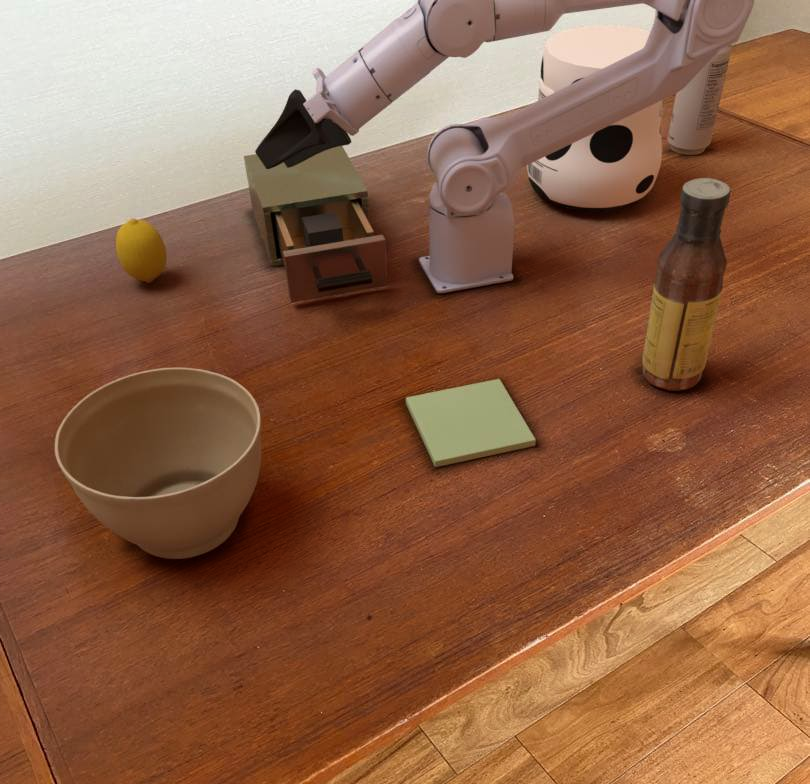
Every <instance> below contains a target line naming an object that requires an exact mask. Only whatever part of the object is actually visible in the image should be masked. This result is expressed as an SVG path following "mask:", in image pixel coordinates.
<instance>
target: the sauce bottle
mask: <svg viewBox="0 0 810 784" xmlns="http://www.w3.org/2000/svg"><path fill="white" fill-rule="evenodd" d="M730 195H731V187H730V186H729V184H727V183H726V182H723V181H722V180H718V179H716V178H711V177H700V178H694V179H691V180H689V181H687V182H685V183H684V184H683V185H682V188H681V193H680V198H679V203H680V210H679V211H680V212H679V217H678V223H677V225H676V227H675V233H674V235H673V236H672V237H671V238H670V240H669V241H668V242H667V243H666V244H665V246H664V247H663V248H662V249H661V251H660V253H659V255H658V263H657V271H656V276H655V280H654V283H653V290H652V296H651V301H650V308H649V315H648V322H647V327H646V333H645V340H644V345H643V351H642V356H641V357H642V359H641V361H642V364H641V368H642V373H643V376H644V379H645V380H646V381H647V383H648V384H649V385H652V386H654V387H656V388H658V389H662V390H665V391H669V392H679V391H686V390H690V389H691V388H694V387H695V386H697V384H698V383H699V382H700V380H701V379H702V376H703V373H704V370H705V367H706V365H707V361H708V356H709V352H710V351H709V350H710V347H711V343H712V338H713V333H714V328H715V325H716V319H717V315H718V310H719V306H720V301H721V297H722V293H723V286H724V285H723V283H724V276H725V273H726V268H727V265H728V260H727V257H726V254H725V250H724V247H723V244H722V239H721V233H722V229H721V228H722V223H723V219H724V215H725V210H726V208H727V207H728V205H729V203H730V198H731V197H730Z"/></svg>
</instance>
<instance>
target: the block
mask: <svg viewBox="0 0 810 784" xmlns="http://www.w3.org/2000/svg"><path fill="white" fill-rule="evenodd" d="M302 223H303V231H304V240H305V248H306V247H312V246H318V245H324V244H330V243H336V242H341V241H343V230H342V226H341V224H340V222H339V220H338V218H337V216H336V214H335V212H333V213H327V214H321V215H314V216H308V217H302Z"/></svg>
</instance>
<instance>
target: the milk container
mask: <svg viewBox="0 0 810 784" xmlns="http://www.w3.org/2000/svg"><path fill="white" fill-rule="evenodd" d="M650 32H651V30H646V29H642V28H638V27H634V26H625V25H617V24H592V25H584V26H576V27H572V28H568V29H565V30H562V31H558V32H556V33H555V34H553V35H551V36H550V37H549V38H547V41H546V43H545V45H544V48H543V52H542V57H541V62H540V78H539V81H538V82H539V84H538V100H537V101H539V100H541V99H543V98H545V97H547V96H549V95H551V94H553V93H555V92H557V91H559V90H561V89H563V88H565V87H567V86H569V85H571V84H573V83H575V82H577V81H579V80H581V79H583V78H585V77H587V76H589V75H591V74H593V73H595V72H597V71H599V70H601V69H603V68H605V67H607V66H609V65H611V64H613V63H615V62H617V61H619V60H621V59H623V58H625V57H627V56H629V55H631V54H633V53H635V52H637V51H639V50H641V49H643V48H644V46H645V44H646V42H647V39H648V37H649V34H650ZM666 99H667V98H665V99H663V100H661V101H659V102H657V103H655V104H653V105H651V106H649V107H647V108H645V109H643V110H641V111H638V112H636V113H634V114H632V115H630V116H628V117H626V118H624V119H622V120H620V121H618V122H616V123H614V124H611V125H609V126H607V127H605V128H603V129H601V130H599V131H597V132H595V133H593V134H591V135H589V136H587V137H584V138H582V139H580V140H578V141H576V142H574V143H572V144H570V145H568V146H566V147H564V148H562V149H560V150H557V151H555V152H553V153H551V154H549V155H547V156H545V157H543V158H541V159H539V160H537V161H535V162H533V163H530V164H528V165H526V170H527V178H528V181H529V184H530V186H531V188H532V189H533V190H534V192H535V193H536V194H538V195H539V196H540V197H542V198H543V199H544V200H546V201H547V202H549V203H551V204H554V205H556V206H559V207H561V208H564V209H565V208H566V209H571V210H576V211H579V212H607V211H612V210H620V209H623V208H626V207H628V206H630V205H633V204H636V203H637V202H639V201H641V200H642V199H644V198H645V197H646V196H647V195H648V194H649V193H650V192H651V190H652V188H654V185H655V182H656V181H657V177H658V175H659V172H660V169H661V165H662V160H663V141H662V118H663V112H664V107H665V103H666Z"/></svg>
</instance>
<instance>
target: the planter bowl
mask: <svg viewBox="0 0 810 784" xmlns="http://www.w3.org/2000/svg"><path fill="white" fill-rule="evenodd" d="M55 434H56V435H55V439H54V455H55V459H56V461H57V464H58V466H59V469H60V470H61V472H62V473H63V475H64V477H65V478H66V480H67V481H68V482H69V483H70V485H71V487H72V489H73V491H74V492H75V494H76V496H77V497H78V499H79V500H80V502H81V504H83V505H84V507H85V508H86V510H88V512H89V513H90V514H91V515H92V516H93V517H94V518H95V519H96V520H97V521H98V522H99V523H101V524H102V525H103V526H104V527H105V528H106V529H108V530H109V531H111V532H112V533H114V534H115V535H117V536H119V537H120V538H122V539H124V540H125V541H128V542H129V543H132V544H134V545H137V546H138V547H139V548H140V549H141V550H143V551H144V552H145V553H147V554H149V555H152V556H155V557H156V558H162V559H168V560H181V559H190V558H194V557H197V556H200V555H203V554H206V553H208V552H210V551H213V550H214V549H216V548H217V547H219V546H220V545H222V544H223V543H224V542H225V541H227V539H228V538H229V537H230V536H231V534H233V532H234V531H235V529H236V528H237V525H238V522H239V519H240V516H241V515H242V514H243V512H244V511H245V509H246V507H247V505H248V504H249V502H250V500H251V498H252V496H253V494H254V491H255V488H256V486H257V483H258V479H259V477H260V470H261V465H262V439H261V434H262V417H261V411H260V408H259V405H258V403H257V401H256V399H255V398H254V396H253V395H252V393H250V391H249V390H247V389H246V388H245V387H244V386H243V385H242V384H240V383H239V382H237V381H236V380H235V379H232V378H231V377H228V376H226V375H223V374H220V373H218V372H213V371H211V370H205V369H199V368H192V367H160V368H153V369H149V370H143V371H139V372H134V373H131V374H129V375H125V376H123V377H120V378H117V379H115V380H112V381H109V382H108V383H106V384H104V385H102V386H100V387H98V388H96V389H95V390H93V391H91V392H90V393H89V394H87V395H86V396H84V397H83V398H82V399H81V400H80V401H79V402H77V404H75V406H73V407H72V409H71V410H70V411H69V412H68V413H67V414H66V415H65V417H64V418H63V420H62V422H61V423H60V424H59V427H58V429H57V432H56V433H55Z"/></svg>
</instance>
